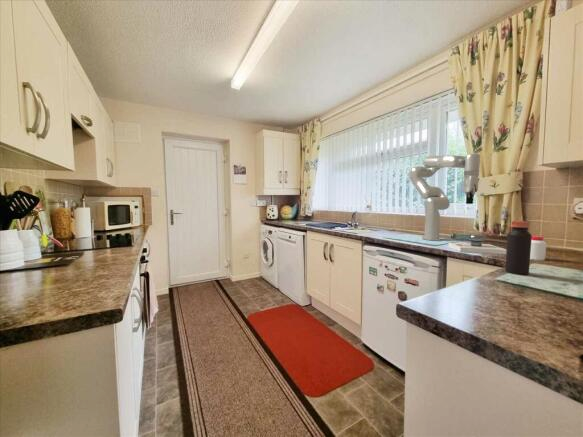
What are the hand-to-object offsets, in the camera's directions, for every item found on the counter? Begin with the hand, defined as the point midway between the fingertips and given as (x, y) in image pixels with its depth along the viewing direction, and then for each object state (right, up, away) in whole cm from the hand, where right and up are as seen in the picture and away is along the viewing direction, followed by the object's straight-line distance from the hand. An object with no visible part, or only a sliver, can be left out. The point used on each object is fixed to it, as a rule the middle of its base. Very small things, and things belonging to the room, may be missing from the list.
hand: (469, 203), depth 151 cm
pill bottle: (+8, -29, -32) cm, 44 cm away
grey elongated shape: (-10, -25, -11) cm, 29 cm away
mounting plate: (-5, -28, -12) cm, 31 cm away
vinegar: (-24, -31, -58) cm, 69 cm away
